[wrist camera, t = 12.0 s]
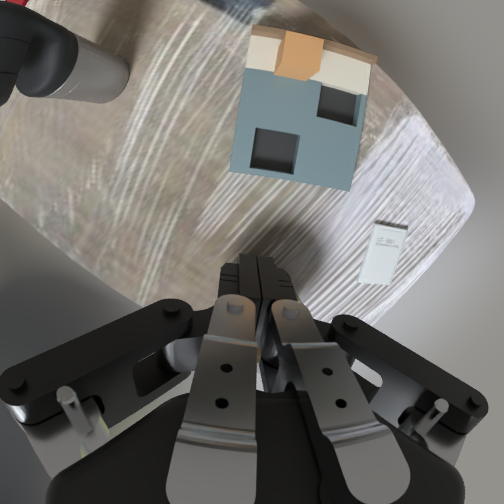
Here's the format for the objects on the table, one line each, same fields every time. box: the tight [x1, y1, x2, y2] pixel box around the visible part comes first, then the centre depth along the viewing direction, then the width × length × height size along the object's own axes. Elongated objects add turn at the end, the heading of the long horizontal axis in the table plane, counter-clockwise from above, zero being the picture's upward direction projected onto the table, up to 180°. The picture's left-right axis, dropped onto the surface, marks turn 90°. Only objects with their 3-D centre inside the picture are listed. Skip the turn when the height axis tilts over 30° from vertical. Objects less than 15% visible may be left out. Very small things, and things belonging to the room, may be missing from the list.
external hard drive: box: [357, 223, 408, 285], centre depth 52 cm, size 2×8×12 cm
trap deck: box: [229, 25, 378, 192], centre depth 38 cm, size 20×24×5 cm
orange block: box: [274, 31, 324, 81], centre depth 32 cm, size 5×5×8 cm
